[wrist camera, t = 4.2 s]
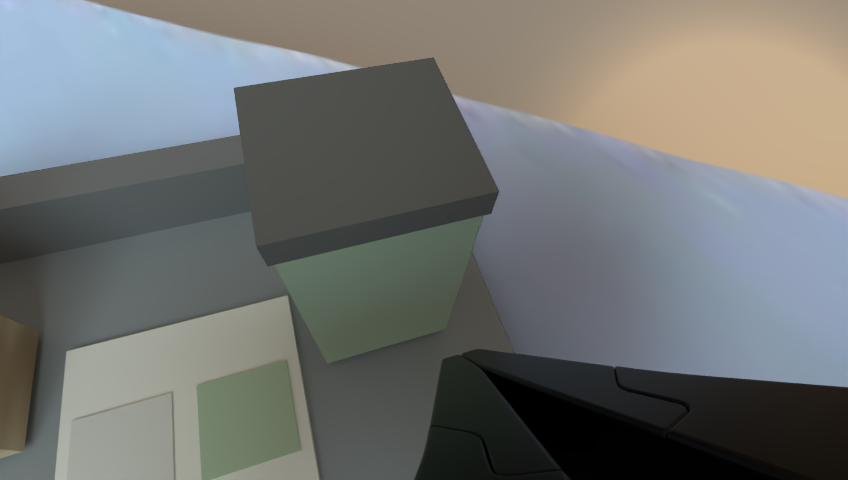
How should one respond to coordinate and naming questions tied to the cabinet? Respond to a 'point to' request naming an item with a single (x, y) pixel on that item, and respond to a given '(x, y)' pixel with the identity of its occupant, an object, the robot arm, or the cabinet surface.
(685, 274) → the cabinet surface
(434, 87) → the sage block
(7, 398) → the beech block
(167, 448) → the switch board
